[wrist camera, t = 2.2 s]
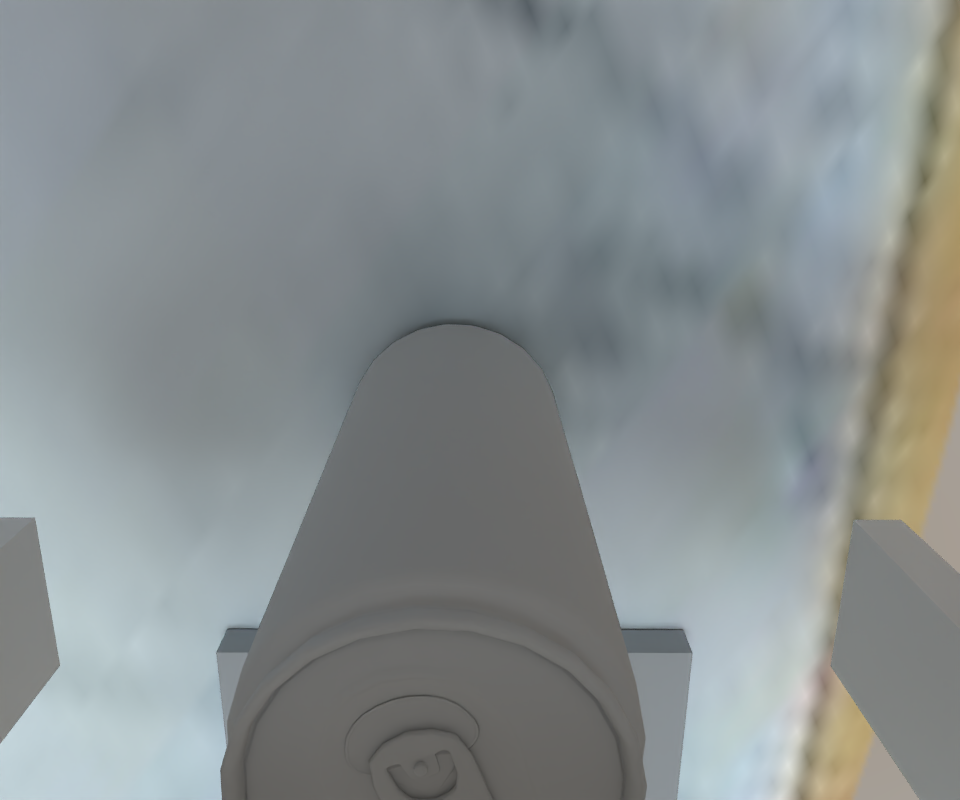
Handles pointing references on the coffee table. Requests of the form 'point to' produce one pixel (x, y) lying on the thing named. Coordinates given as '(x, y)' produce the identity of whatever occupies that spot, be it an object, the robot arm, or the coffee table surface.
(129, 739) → the coffee table surface
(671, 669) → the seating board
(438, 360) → the beverage can
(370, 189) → the coffee table surface
